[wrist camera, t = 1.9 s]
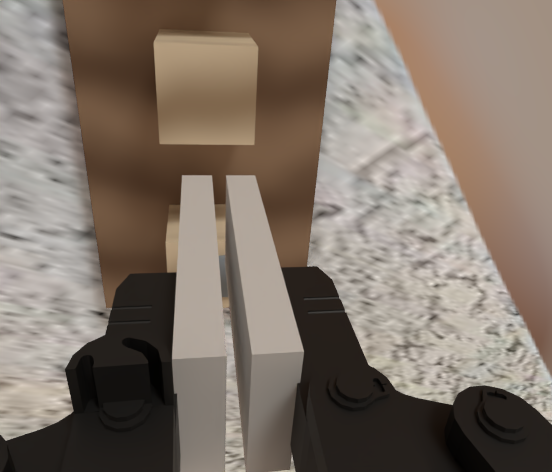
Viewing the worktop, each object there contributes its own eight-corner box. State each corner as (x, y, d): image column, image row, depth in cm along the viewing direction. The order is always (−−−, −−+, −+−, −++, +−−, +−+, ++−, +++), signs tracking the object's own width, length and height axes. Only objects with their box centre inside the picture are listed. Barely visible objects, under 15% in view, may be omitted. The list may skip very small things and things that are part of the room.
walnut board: (25, -344, 21) (10, -371, 19) (357, -292, 23) (370, -311, 22) (110, 291, 38) (106, 307, 36) (298, 285, 40) (303, 299, 38)
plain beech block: (159, 28, 27) (153, 42, 23) (248, 32, 28) (258, 47, 24) (164, 116, 30) (159, 144, 25) (246, 118, 30) (254, 145, 26)
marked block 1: (169, 204, 33) (165, 244, 28) (243, 204, 33) (250, 242, 29) (172, 266, 35) (169, 311, 31) (241, 264, 36) (248, 308, 31)
